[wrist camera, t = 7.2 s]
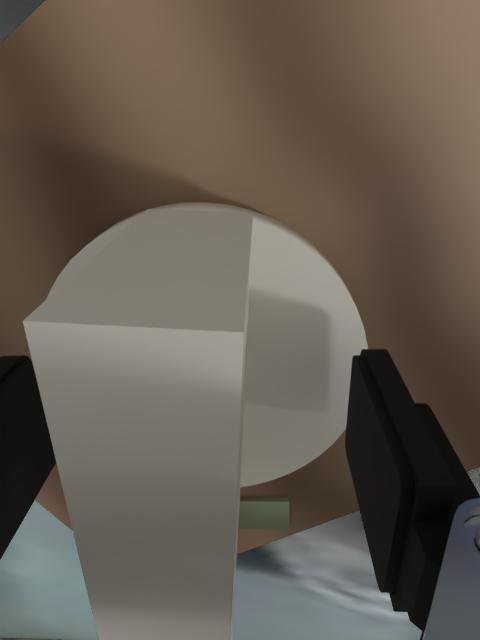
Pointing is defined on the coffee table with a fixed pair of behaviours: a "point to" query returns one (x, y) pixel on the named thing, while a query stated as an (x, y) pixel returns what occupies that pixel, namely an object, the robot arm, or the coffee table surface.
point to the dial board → (263, 175)
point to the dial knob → (185, 400)
